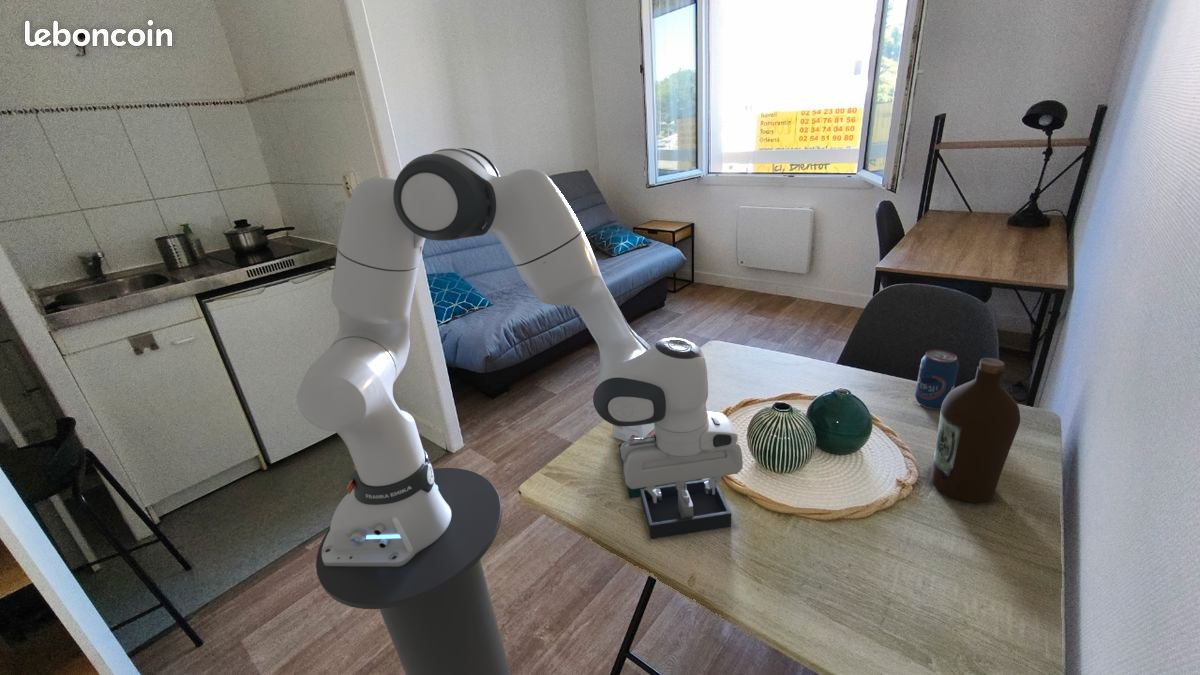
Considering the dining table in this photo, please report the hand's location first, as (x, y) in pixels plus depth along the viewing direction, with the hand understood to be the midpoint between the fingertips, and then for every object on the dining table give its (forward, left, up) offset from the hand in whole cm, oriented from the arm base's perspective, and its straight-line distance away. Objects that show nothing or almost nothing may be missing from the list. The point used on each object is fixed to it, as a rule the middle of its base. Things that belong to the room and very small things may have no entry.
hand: (683, 496), depth 89 cm
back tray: (-2, +12, -4) cm, 13 cm away
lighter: (0, 0, -4) cm, 4 cm away
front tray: (0, 0, -4) cm, 4 cm away
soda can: (+63, +22, -4) cm, 67 cm away
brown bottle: (+50, -3, -4) cm, 50 cm away
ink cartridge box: (-5, +25, -4) cm, 26 cm away
